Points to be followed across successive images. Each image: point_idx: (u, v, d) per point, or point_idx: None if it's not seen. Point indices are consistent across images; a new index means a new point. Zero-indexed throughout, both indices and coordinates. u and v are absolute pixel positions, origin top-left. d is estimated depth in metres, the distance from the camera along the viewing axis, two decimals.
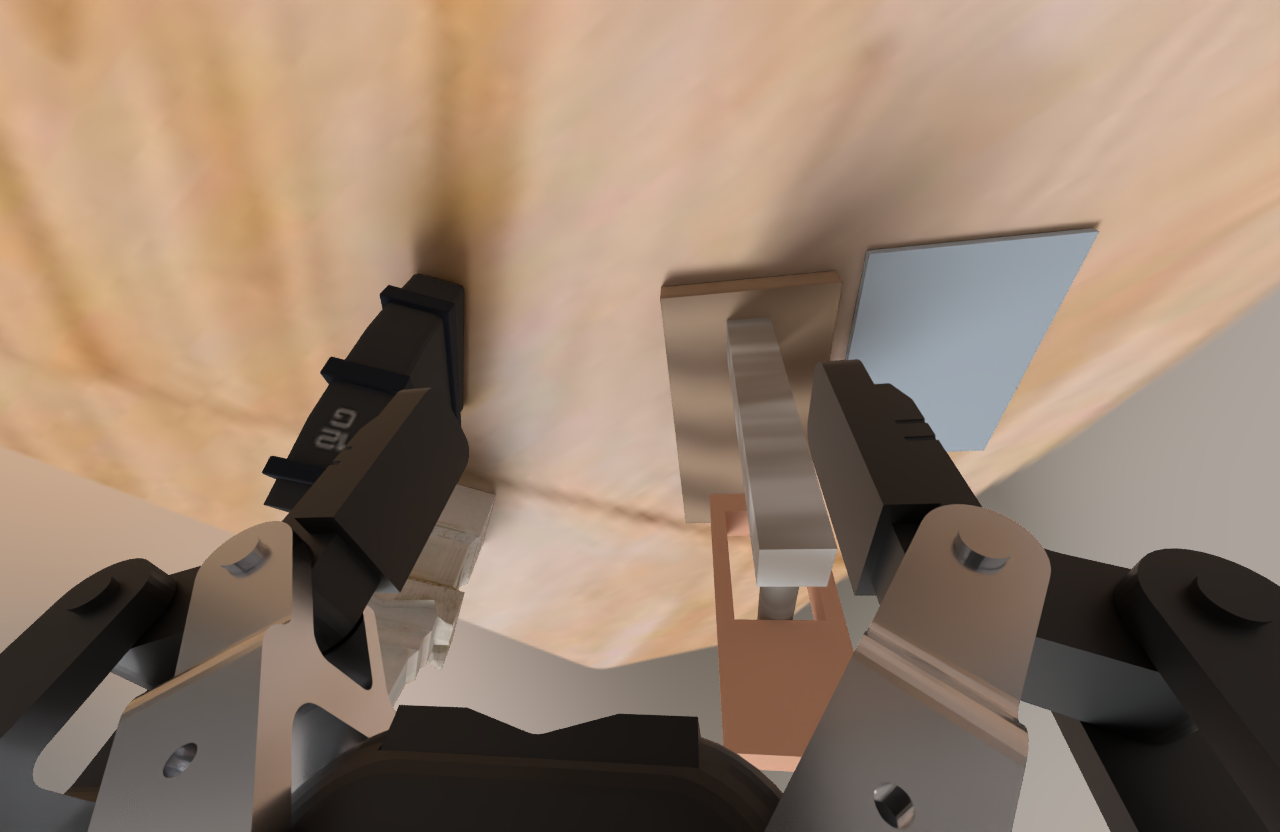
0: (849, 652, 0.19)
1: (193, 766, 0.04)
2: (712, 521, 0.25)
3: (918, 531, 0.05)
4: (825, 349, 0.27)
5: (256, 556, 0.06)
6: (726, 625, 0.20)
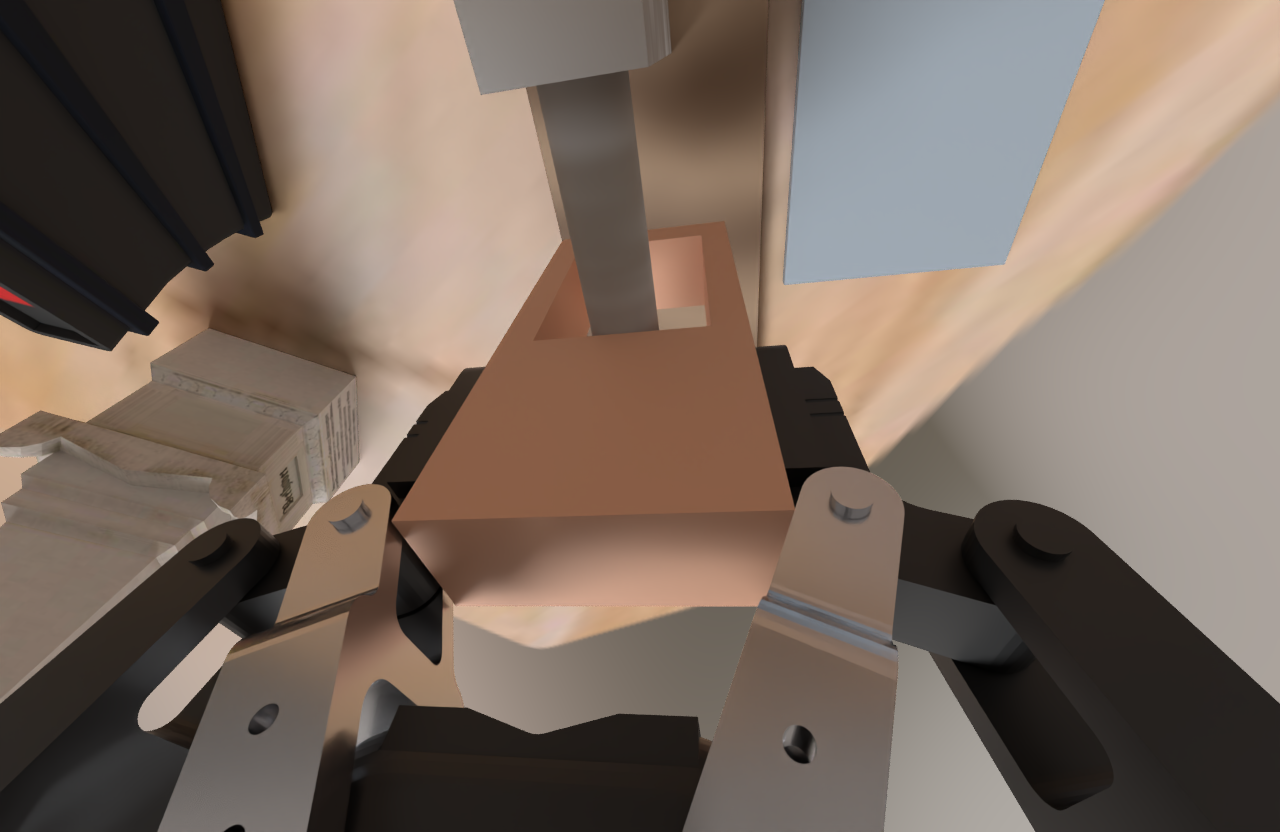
0: (748, 355, 0.09)
1: (273, 728, 0.04)
2: (554, 258, 0.14)
3: (799, 498, 0.06)
4: (758, 41, 0.18)
5: (358, 518, 0.07)
6: (514, 348, 0.10)
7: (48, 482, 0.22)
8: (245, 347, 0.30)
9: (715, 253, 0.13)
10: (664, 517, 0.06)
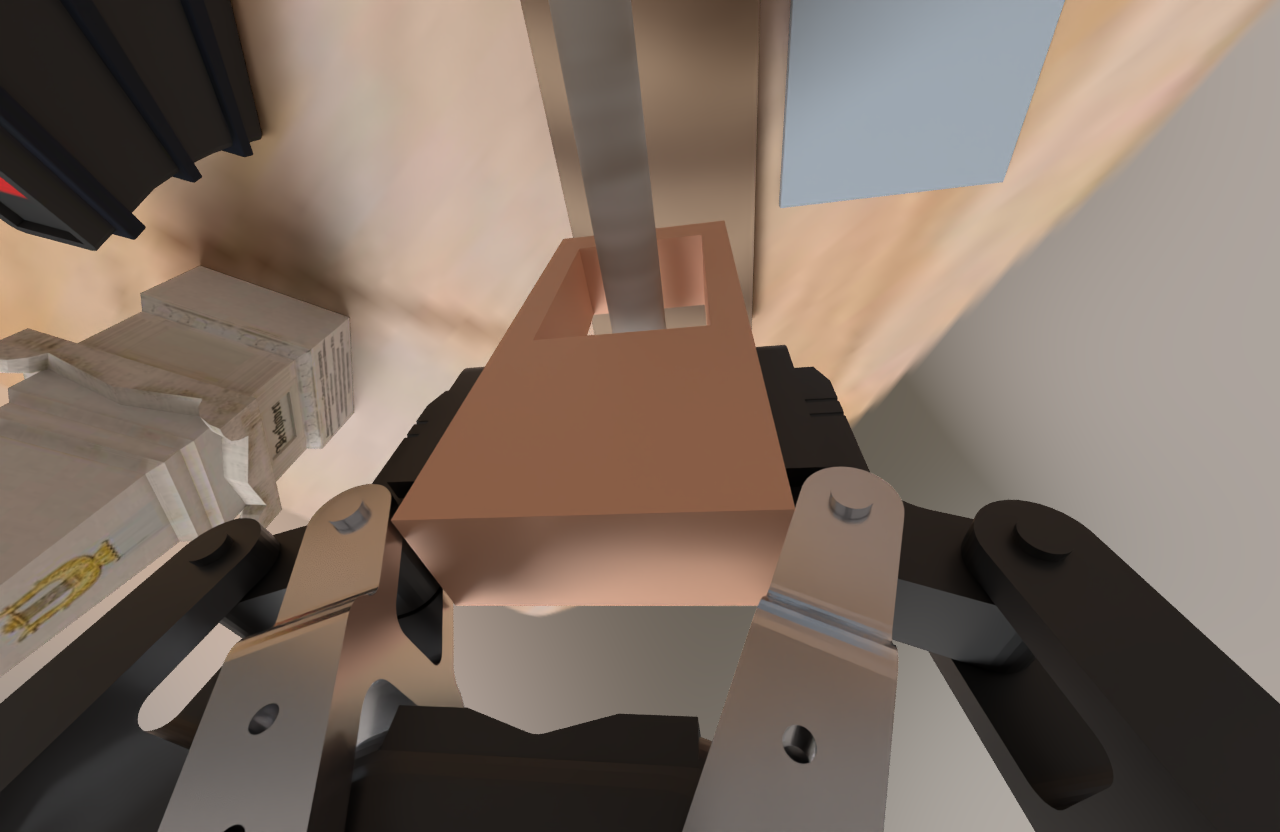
0: (748, 355, 0.09)
1: (273, 727, 0.04)
2: (553, 258, 0.14)
3: (799, 497, 0.06)
4: None
5: (358, 518, 0.07)
6: (514, 347, 0.10)
7: (35, 397, 0.21)
8: (237, 285, 0.30)
9: (715, 252, 0.13)
10: (664, 517, 0.06)
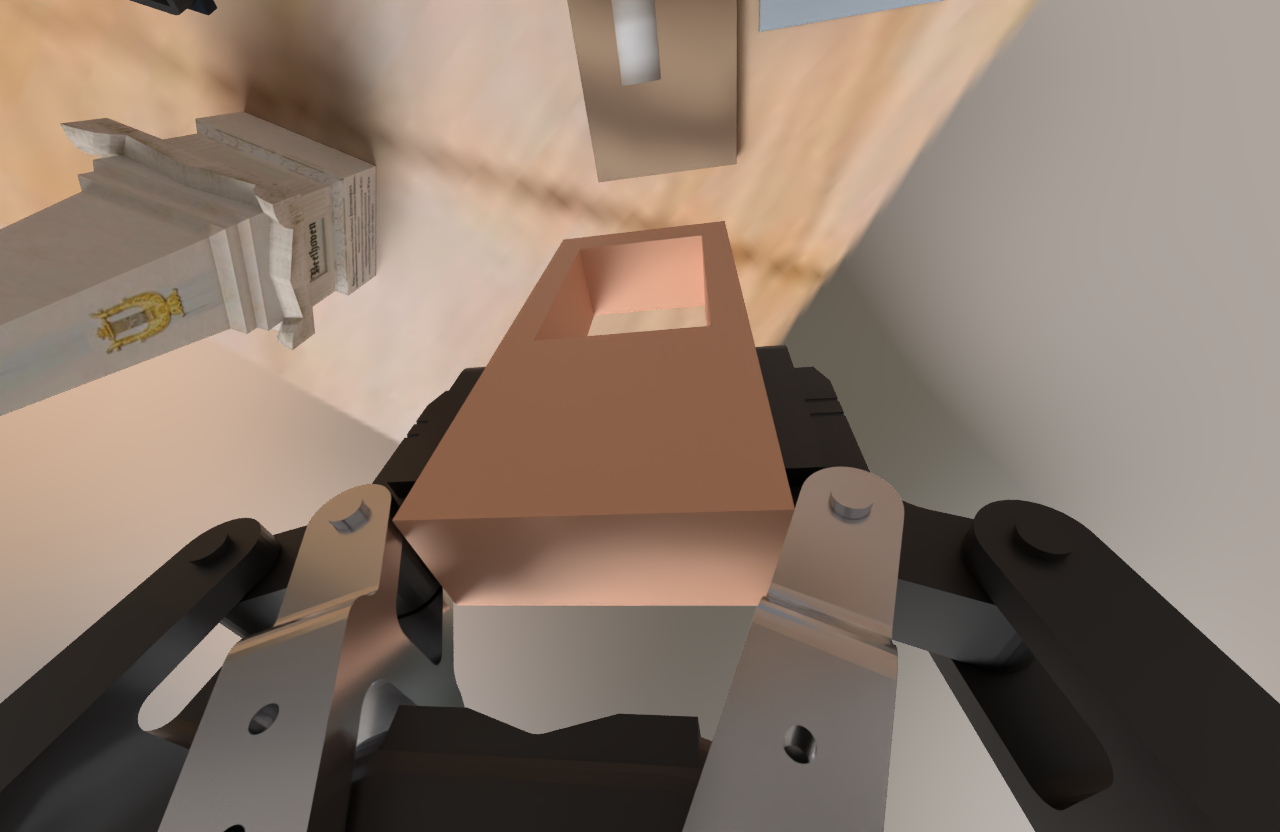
0: (748, 355, 0.09)
1: (273, 728, 0.04)
2: (554, 258, 0.14)
3: (799, 497, 0.06)
4: None
5: (358, 518, 0.07)
6: (514, 348, 0.10)
7: (115, 170, 0.25)
8: (277, 129, 0.33)
9: (715, 253, 0.13)
10: (664, 517, 0.06)
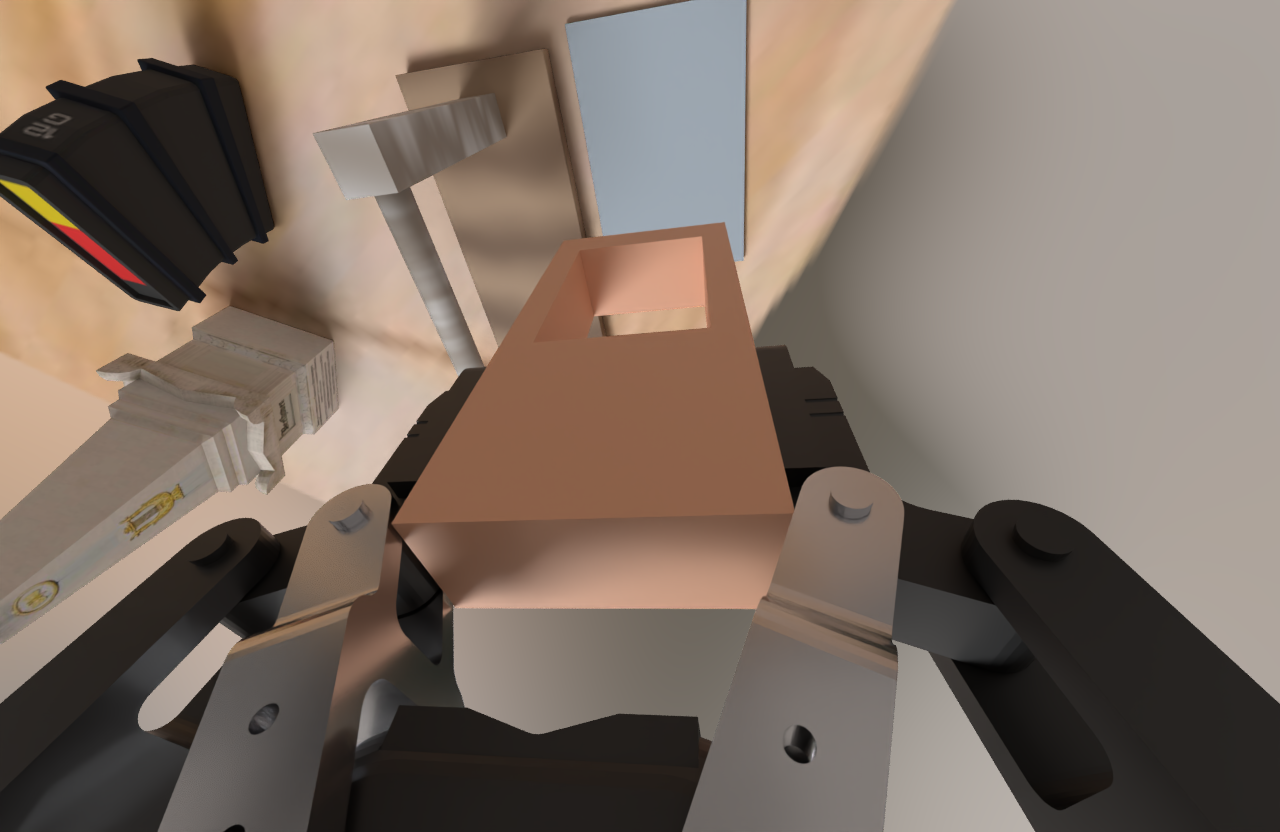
0: (748, 358, 0.09)
1: (273, 727, 0.04)
2: (554, 259, 0.14)
3: (799, 497, 0.06)
4: (554, 131, 0.31)
5: (358, 518, 0.07)
6: (514, 350, 0.10)
7: (134, 396, 0.35)
8: (255, 319, 0.43)
9: (715, 254, 0.13)
10: (664, 520, 0.06)
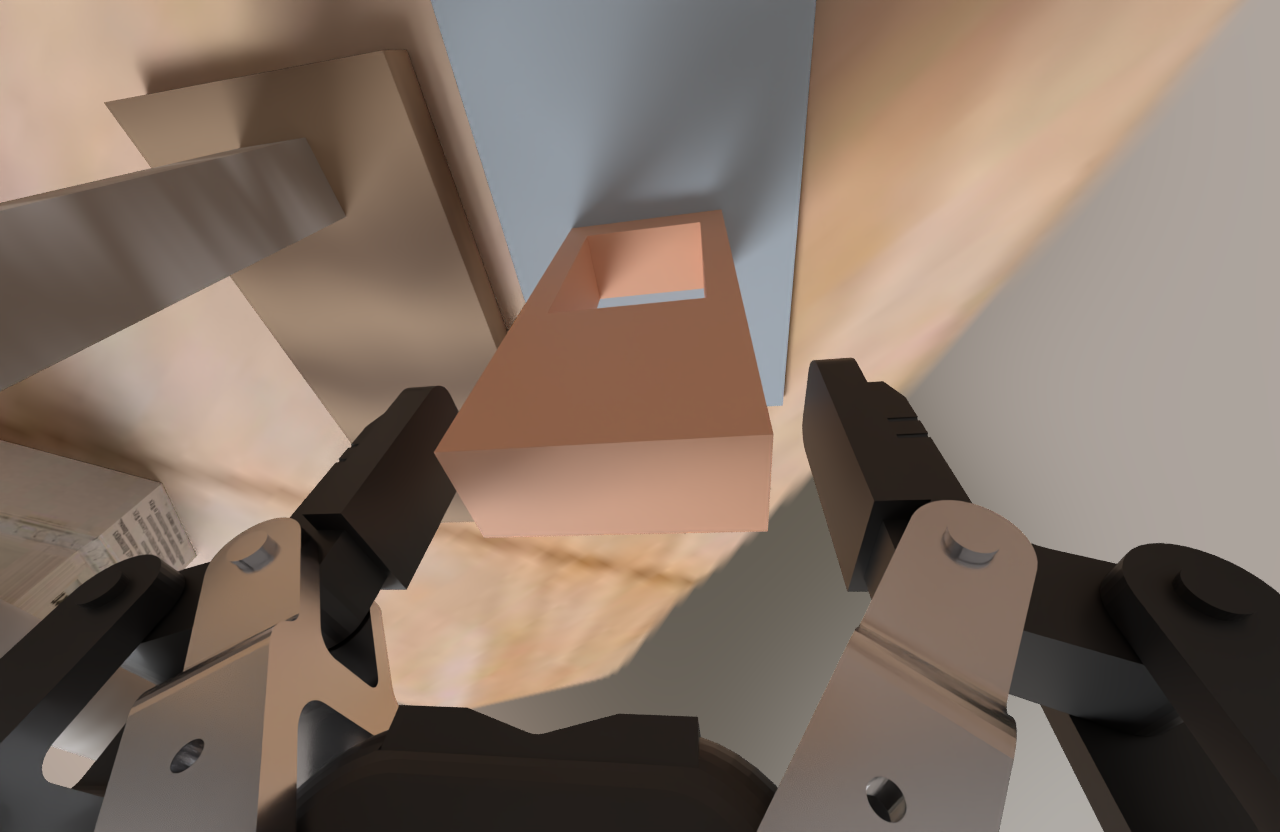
0: (738, 320, 0.10)
1: (200, 762, 0.04)
2: (563, 244, 0.16)
3: (907, 527, 0.05)
4: (434, 208, 0.16)
5: (265, 554, 0.06)
6: (530, 319, 0.11)
7: None
8: (33, 459, 0.28)
9: (712, 237, 0.14)
10: (664, 444, 0.07)
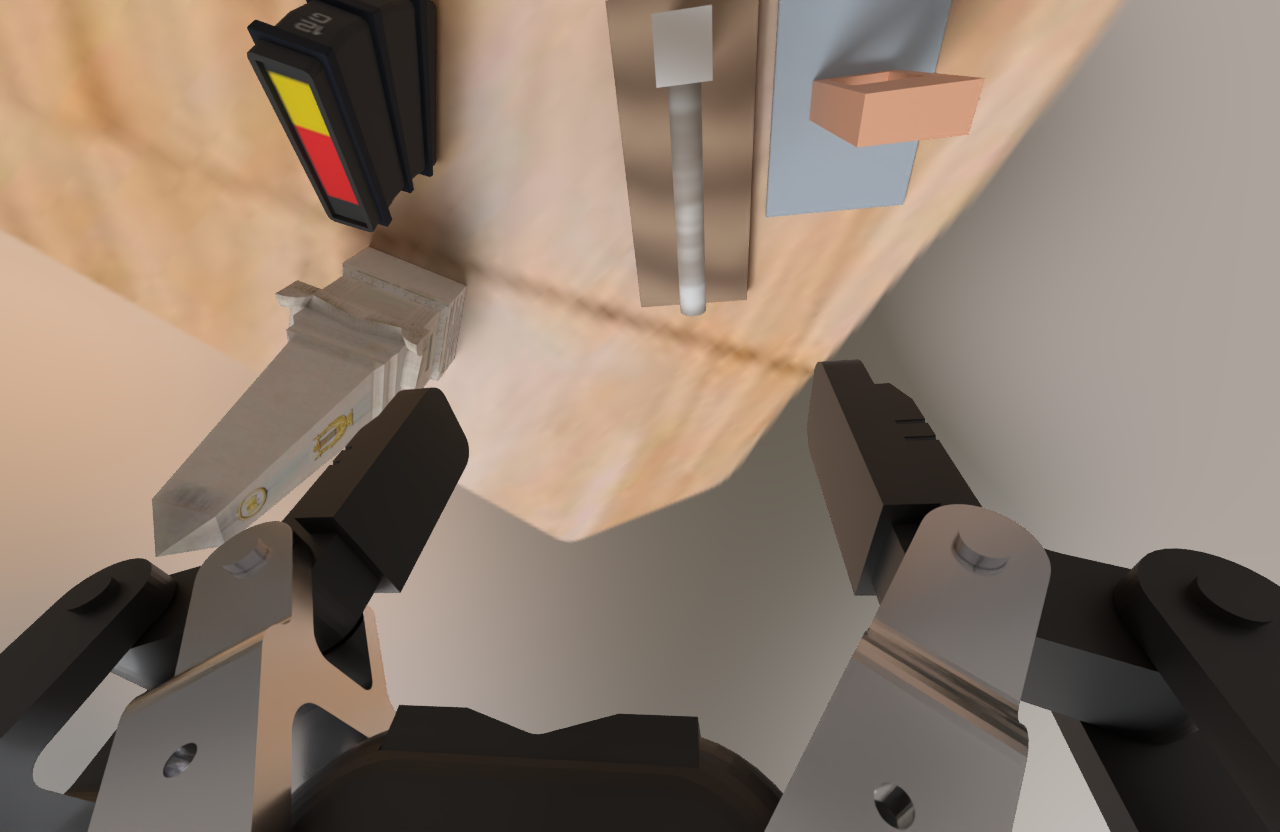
0: None
1: (193, 766, 0.04)
2: (820, 81, 0.31)
3: (918, 531, 0.05)
4: (751, 63, 0.31)
5: (256, 556, 0.06)
6: (848, 86, 0.27)
7: (308, 322, 0.35)
8: (394, 260, 0.43)
9: (904, 71, 0.29)
10: (947, 85, 0.23)
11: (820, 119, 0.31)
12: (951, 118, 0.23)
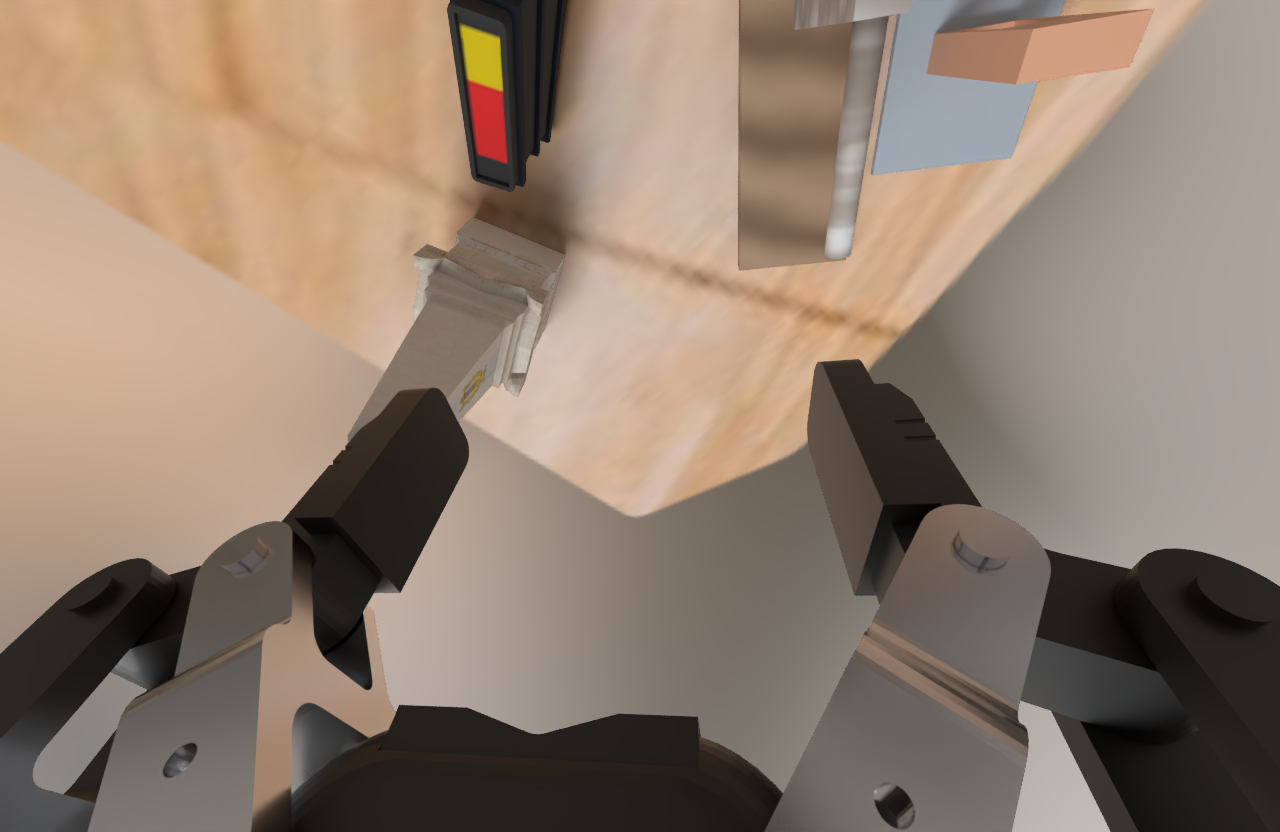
0: None
1: (193, 766, 0.04)
2: (947, 33, 0.32)
3: (918, 531, 0.05)
4: None
5: (256, 557, 0.06)
6: (994, 30, 0.27)
7: (441, 283, 0.36)
8: (499, 230, 0.45)
9: (1035, 18, 0.30)
10: (1116, 17, 0.23)
11: (948, 69, 0.32)
12: (1115, 51, 0.24)
